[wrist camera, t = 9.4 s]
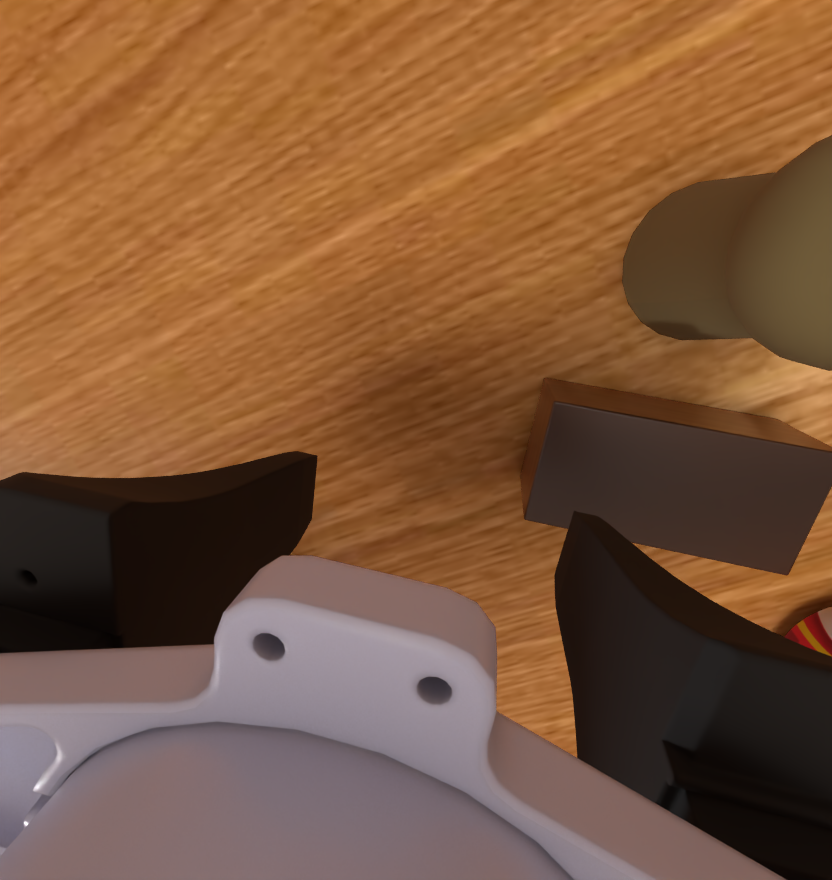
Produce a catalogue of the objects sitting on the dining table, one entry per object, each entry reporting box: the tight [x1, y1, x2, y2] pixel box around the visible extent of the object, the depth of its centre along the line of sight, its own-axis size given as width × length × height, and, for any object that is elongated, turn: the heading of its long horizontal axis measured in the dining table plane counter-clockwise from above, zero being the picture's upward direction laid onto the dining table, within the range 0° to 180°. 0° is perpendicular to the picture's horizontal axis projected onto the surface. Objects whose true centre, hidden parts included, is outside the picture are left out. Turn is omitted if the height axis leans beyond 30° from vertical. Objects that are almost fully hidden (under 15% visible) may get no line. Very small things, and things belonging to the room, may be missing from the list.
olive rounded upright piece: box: [622, 135, 832, 371], centre depth 14 cm, size 6×6×11 cm
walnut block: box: [520, 378, 832, 575], centre depth 20 cm, size 5×10×4 cm, turn 81°
